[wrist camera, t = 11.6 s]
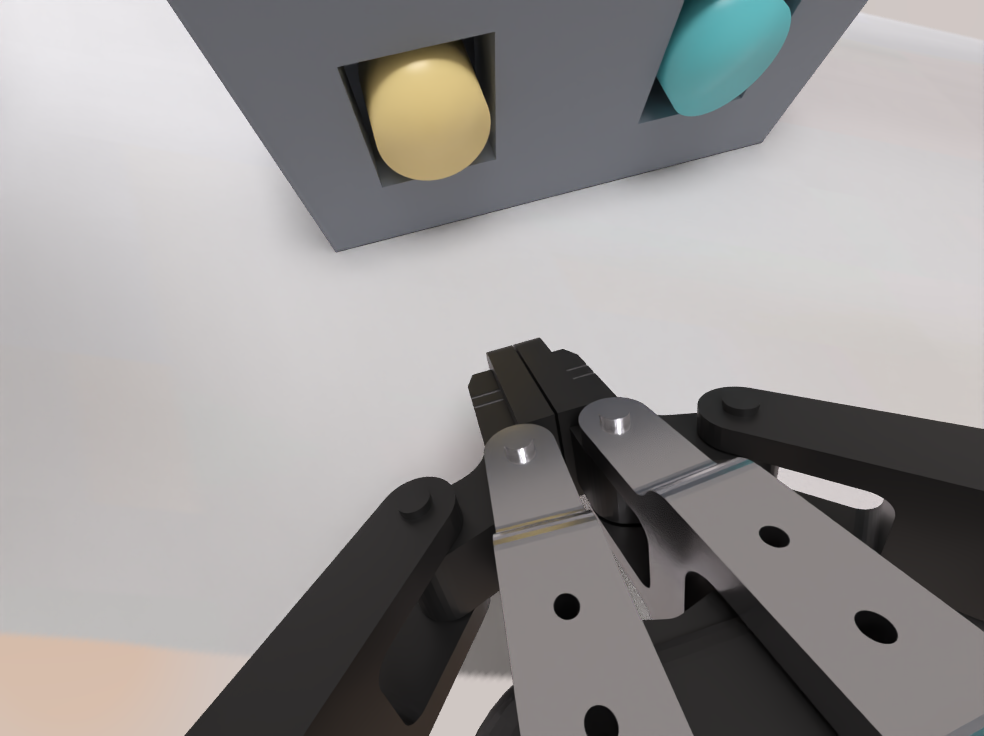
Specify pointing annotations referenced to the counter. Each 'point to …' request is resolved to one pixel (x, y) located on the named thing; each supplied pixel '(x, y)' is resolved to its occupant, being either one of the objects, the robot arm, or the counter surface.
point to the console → (506, 88)
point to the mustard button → (426, 110)
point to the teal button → (720, 51)
